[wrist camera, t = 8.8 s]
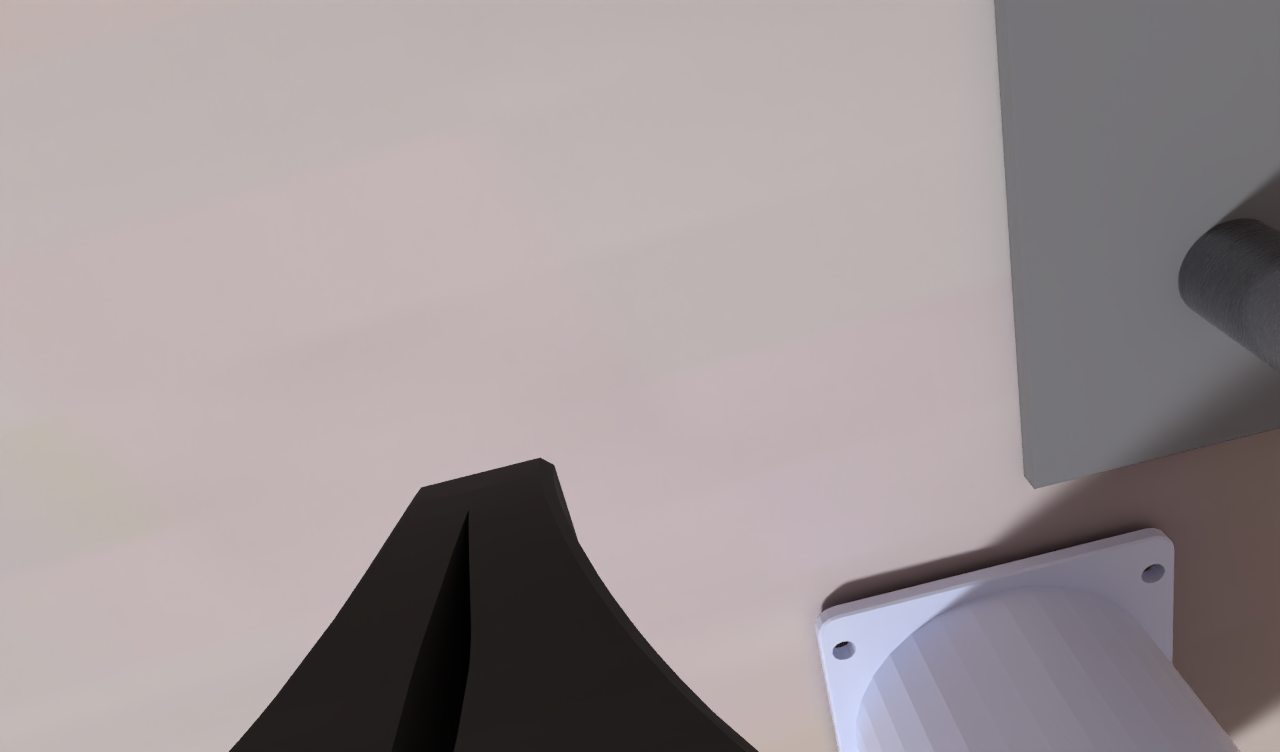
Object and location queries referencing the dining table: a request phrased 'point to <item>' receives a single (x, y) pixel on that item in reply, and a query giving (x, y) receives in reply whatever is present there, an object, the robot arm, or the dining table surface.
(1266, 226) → the hinge post
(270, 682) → the dining table surface
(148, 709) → the dining table surface
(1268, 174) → the mat
